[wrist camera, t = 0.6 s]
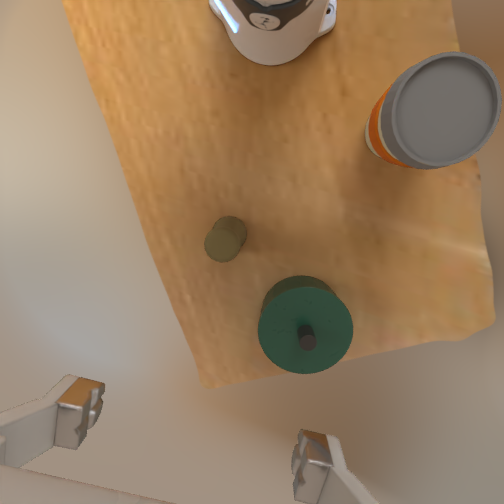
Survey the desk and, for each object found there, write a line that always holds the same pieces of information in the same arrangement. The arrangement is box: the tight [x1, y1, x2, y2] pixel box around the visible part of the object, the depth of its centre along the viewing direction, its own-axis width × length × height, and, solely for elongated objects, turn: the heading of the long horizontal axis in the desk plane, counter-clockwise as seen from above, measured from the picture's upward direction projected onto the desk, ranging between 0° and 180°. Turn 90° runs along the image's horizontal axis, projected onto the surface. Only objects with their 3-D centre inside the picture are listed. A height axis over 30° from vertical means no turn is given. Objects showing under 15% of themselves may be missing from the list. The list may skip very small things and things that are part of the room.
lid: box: [258, 286, 353, 374], centre depth 49 cm, size 15×15×5 cm
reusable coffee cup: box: [365, 52, 502, 170], centre depth 43 cm, size 13×13×15 cm
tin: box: [261, 276, 336, 314], centre depth 55 cm, size 14×14×7 cm
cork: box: [204, 216, 247, 262], centre depth 50 cm, size 6×6×11 cm
